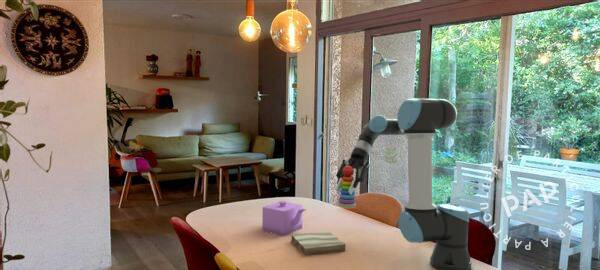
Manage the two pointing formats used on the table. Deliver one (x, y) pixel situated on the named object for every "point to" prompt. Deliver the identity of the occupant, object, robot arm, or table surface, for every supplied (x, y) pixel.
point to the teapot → (282, 217)
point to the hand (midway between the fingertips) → (343, 191)
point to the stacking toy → (345, 197)
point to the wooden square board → (318, 243)
